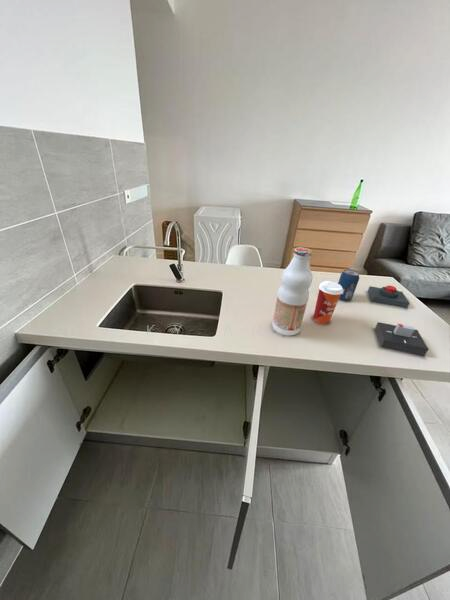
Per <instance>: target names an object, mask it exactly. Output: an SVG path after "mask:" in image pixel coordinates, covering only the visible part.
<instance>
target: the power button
mask: <svg viewBox="0 0 450 600" xmlns="http://www.w3.org/2000/svg"><path fill="white" fill-rule="evenodd" d="M385 287H386V289H385V290H386V291H387V292H390V293H395V291H396V290H397V287H396V286H393V285H386V286H385Z"/></svg>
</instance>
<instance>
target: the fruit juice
mask: <svg viewBox="0 0 450 600" xmlns="http://www.w3.org/2000/svg"><path fill="white" fill-rule="evenodd" d="M312 252H313V251H312V250H311V248H308V247H302V246H298V247H295V248H294V250H293V258H292V259H291V260H290V262H289V263H288V265H287V266H286V267H285V269H284V270H283V272H282V274H281V279H280V280H281V284H280V286H279V288H278V291H277V295H276V302H275V306H274V312H273V318H272V328H273V330H274V331H275V332H277V333H278V334H279V335H282V336H295V335H297V334H298V333H299V332H300V330H301V328H302V327H301V326H302V323H303V319H304V316H305V313H306V309H307V304H308V301H309V296H310V291H309V289H310V287H311V286H312V284H313V278H314V276H313V273H312V270H311V263H310V259H311V257H312V254H313V253H312Z"/></svg>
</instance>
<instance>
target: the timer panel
mask: <svg viewBox="0 0 450 600" xmlns="http://www.w3.org/2000/svg"><path fill="white" fill-rule="evenodd" d="M395 327H396V325H395V324H390V323H386V322H380V321H378V322H377V323H376V325H375V327H374V331H375V333H376V336H377V339H378V342H379V345H380V348H383V349H384V348H385V349H387V350H388V349H389V350H393V351H398V352H402V353H406V354H412V355H415V356H420V357H425V356H426V354H427V353H428V351H429V348H428V346H427V344H426V342H425V341H424V339H423V337H422V336H421V334H420V332H419V330H418V329H415V330H414V332H413V334H412V335H411V337H405V336H400V335H395V334H394V332H393V331H394V329H395Z"/></svg>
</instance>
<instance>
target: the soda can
mask: <svg viewBox="0 0 450 600" xmlns="http://www.w3.org/2000/svg"><path fill="white" fill-rule="evenodd" d="M359 281H360V272H359V271H356V270H355V269H354V270H353V269H347V268H346V269H344V270H343V271H342V272H341V273H340V276H339V279H338V282H337V283H338V284H339V285H341V286H342V290H343V293H342V294H341V295H340V297H339V300H338V301H342V302H349V301H351V300H352V299H353V298H354V294H355V291H356V289H357V286H358V284H359Z"/></svg>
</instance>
